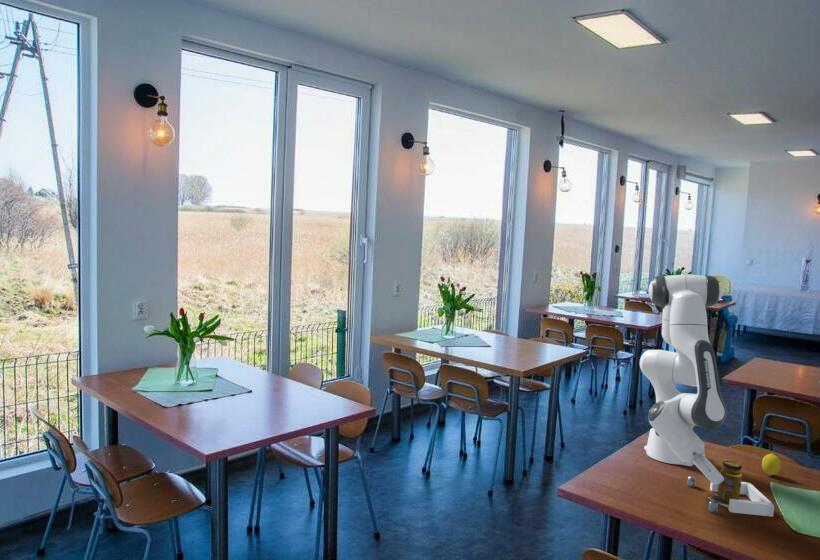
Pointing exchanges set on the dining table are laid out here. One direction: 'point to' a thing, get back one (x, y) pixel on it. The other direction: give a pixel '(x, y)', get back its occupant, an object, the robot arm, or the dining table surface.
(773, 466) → the lemon
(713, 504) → the cylinder
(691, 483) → the cylinder
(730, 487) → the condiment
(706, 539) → the dining table surface
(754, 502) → the holder
